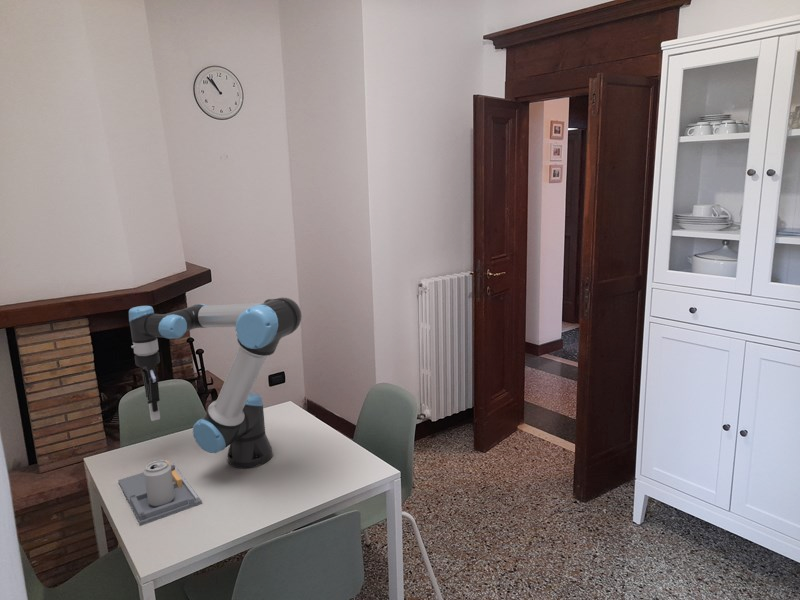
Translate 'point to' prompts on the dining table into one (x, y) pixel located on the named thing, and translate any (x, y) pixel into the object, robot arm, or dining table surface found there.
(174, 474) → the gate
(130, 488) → the housing
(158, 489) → the can
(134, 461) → the dining table surface
